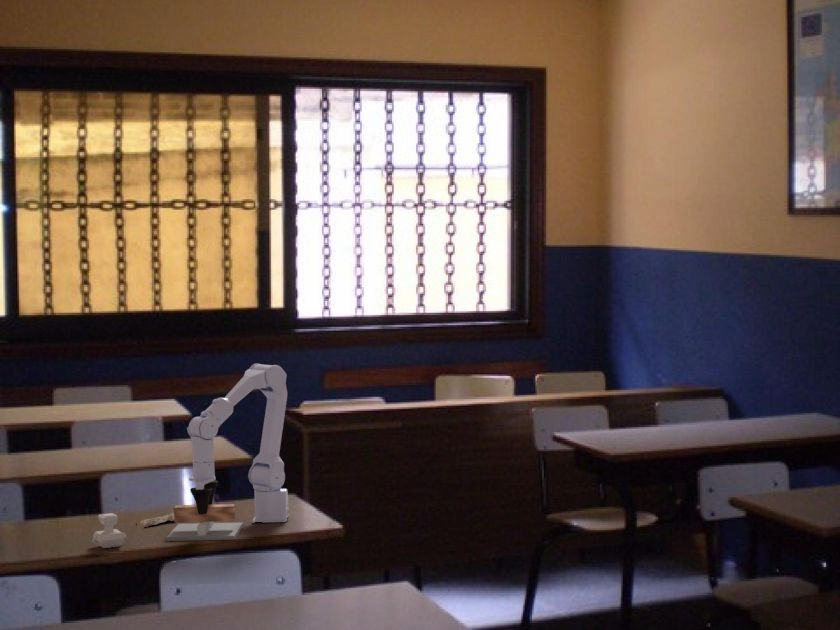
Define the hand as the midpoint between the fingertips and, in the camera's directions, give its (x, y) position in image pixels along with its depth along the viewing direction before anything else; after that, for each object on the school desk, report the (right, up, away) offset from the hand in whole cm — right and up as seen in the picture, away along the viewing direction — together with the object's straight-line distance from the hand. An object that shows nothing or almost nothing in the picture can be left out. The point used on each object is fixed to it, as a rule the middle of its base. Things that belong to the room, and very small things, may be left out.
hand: (205, 511), depth 346 cm
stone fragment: (-13, -6, +18) cm, 23 cm away
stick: (0, -3, 0) cm, 3 cm away
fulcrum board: (0, -6, 0) cm, 6 cm away
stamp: (-23, -8, -12) cm, 27 cm away
